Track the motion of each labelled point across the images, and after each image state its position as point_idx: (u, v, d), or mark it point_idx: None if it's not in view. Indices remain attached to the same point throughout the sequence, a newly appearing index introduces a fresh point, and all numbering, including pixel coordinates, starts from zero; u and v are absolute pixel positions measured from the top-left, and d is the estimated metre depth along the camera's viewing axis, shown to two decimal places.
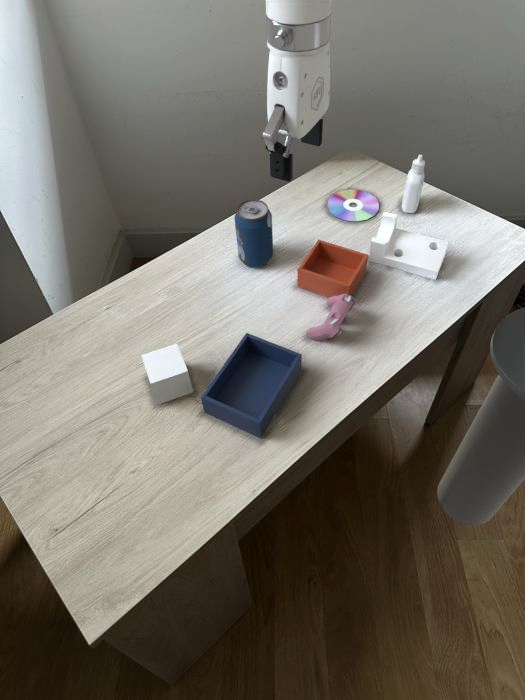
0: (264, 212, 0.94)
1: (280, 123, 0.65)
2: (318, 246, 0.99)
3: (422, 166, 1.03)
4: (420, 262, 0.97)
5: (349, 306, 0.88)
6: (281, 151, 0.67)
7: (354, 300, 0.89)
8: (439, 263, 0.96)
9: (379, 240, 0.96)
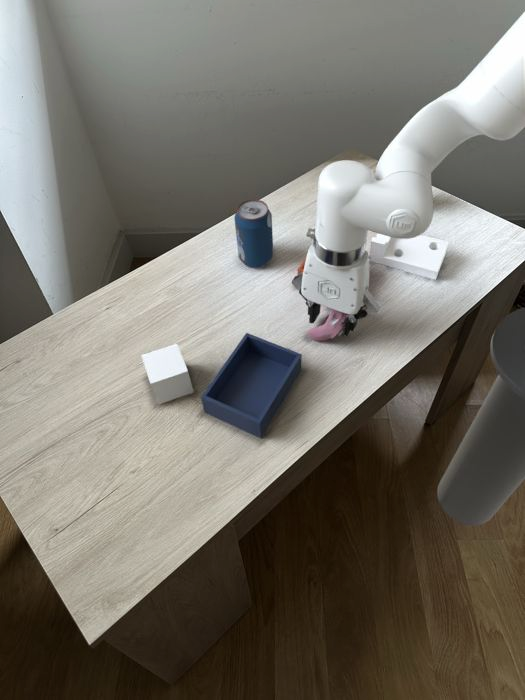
0: (264, 212, 0.94)
1: (301, 282, 0.86)
2: None
3: None
4: (420, 262, 0.97)
5: None
6: (305, 299, 0.88)
7: None
8: (439, 263, 0.96)
9: (379, 240, 0.96)
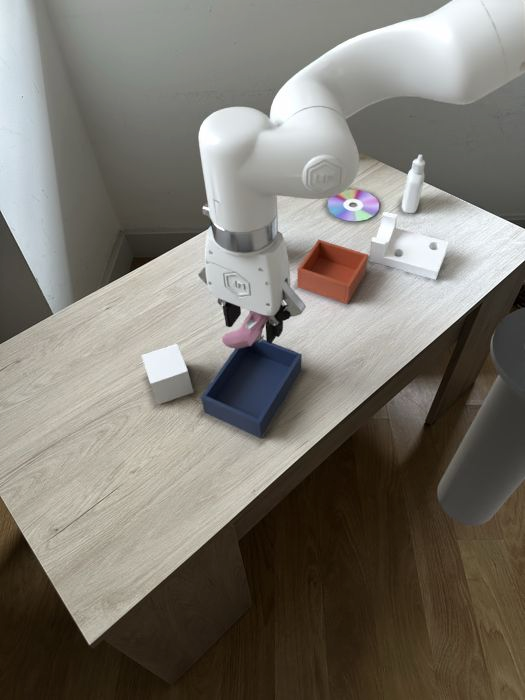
0: None
1: None
2: (318, 246, 0.99)
3: (422, 166, 1.03)
4: (420, 262, 0.97)
5: None
6: None
7: None
8: (439, 263, 0.96)
9: (379, 240, 0.96)
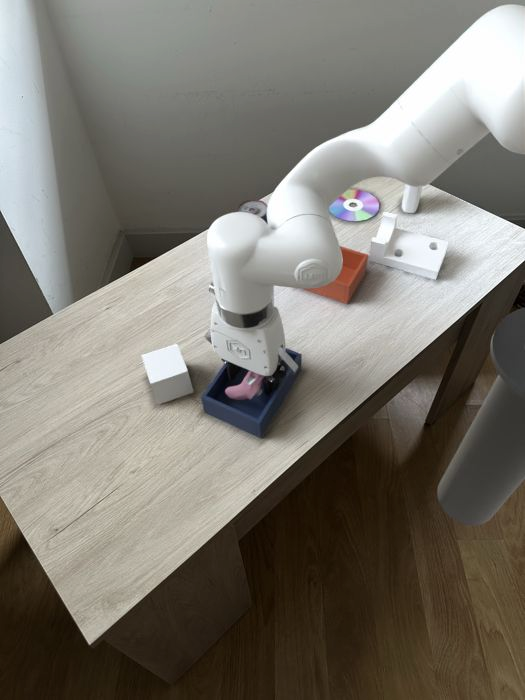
0: (264, 212, 0.94)
1: None
2: None
3: None
4: (420, 262, 0.97)
5: None
6: None
7: None
8: (439, 263, 0.96)
9: (379, 240, 0.96)
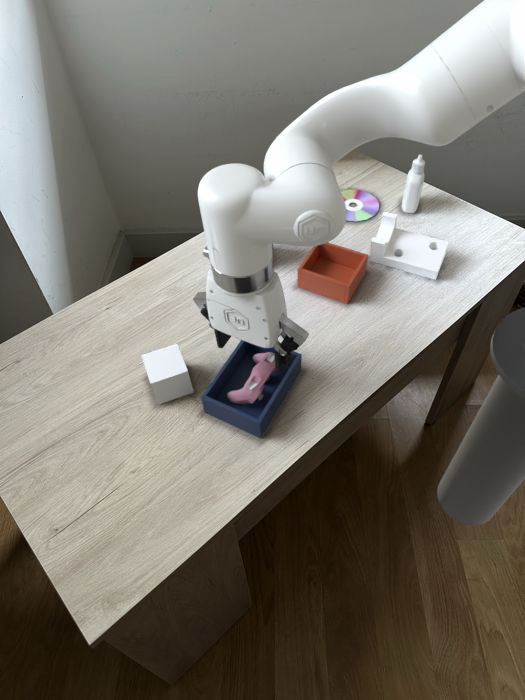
0: None
1: None
2: (318, 246, 0.99)
3: (422, 166, 1.03)
4: (420, 262, 0.97)
5: (271, 368, 0.80)
6: (209, 319, 0.74)
7: None
8: (439, 263, 0.96)
9: (379, 240, 0.96)
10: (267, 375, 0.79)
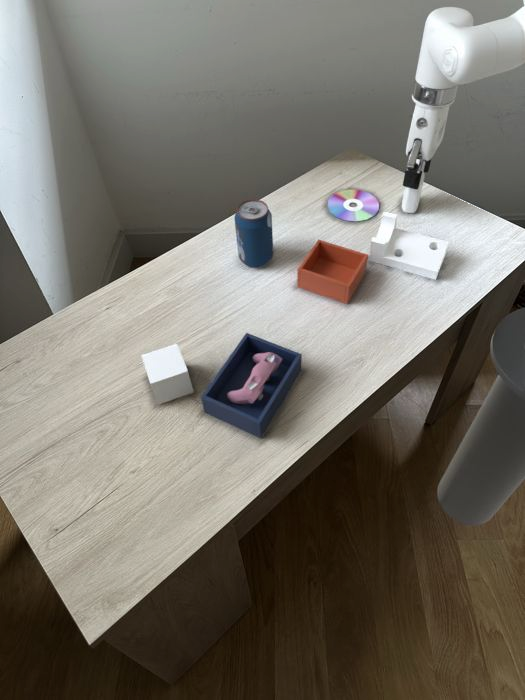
0: (264, 212, 0.94)
1: (417, 157, 0.97)
2: (318, 246, 0.99)
3: (422, 166, 1.03)
4: (420, 262, 0.97)
5: (271, 368, 0.80)
6: (416, 171, 1.00)
7: (278, 360, 0.81)
8: (439, 263, 0.96)
9: (379, 240, 0.96)
10: (267, 375, 0.79)
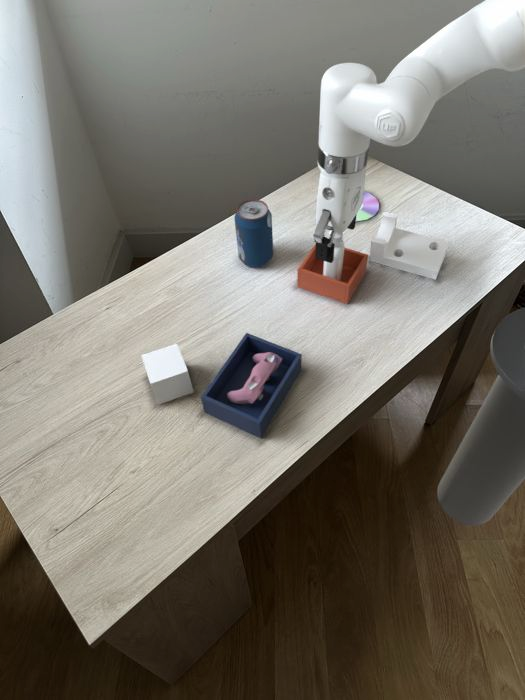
0: (264, 212, 0.94)
1: (327, 224, 0.82)
2: None
3: (339, 239, 0.90)
4: (420, 262, 0.97)
5: (271, 368, 0.80)
6: (326, 243, 0.84)
7: (278, 360, 0.81)
8: (439, 263, 0.96)
9: (379, 240, 0.96)
10: (267, 375, 0.79)
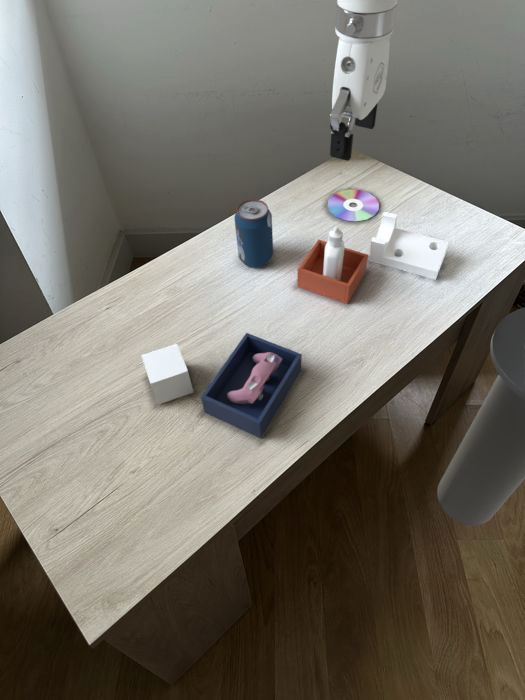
0: (264, 212, 0.94)
1: (345, 105, 0.70)
2: (318, 246, 0.99)
3: (339, 239, 0.90)
4: (420, 262, 0.97)
5: (271, 368, 0.80)
6: (344, 131, 0.73)
7: (278, 360, 0.81)
8: (439, 263, 0.96)
9: (379, 240, 0.96)
10: (267, 375, 0.79)
